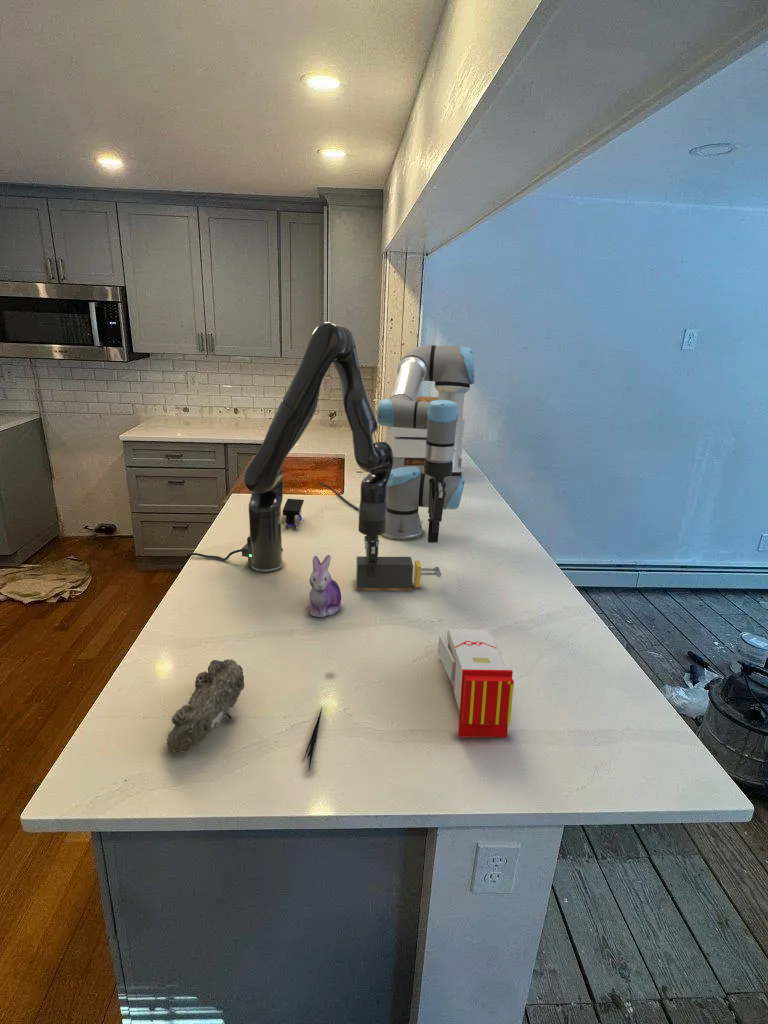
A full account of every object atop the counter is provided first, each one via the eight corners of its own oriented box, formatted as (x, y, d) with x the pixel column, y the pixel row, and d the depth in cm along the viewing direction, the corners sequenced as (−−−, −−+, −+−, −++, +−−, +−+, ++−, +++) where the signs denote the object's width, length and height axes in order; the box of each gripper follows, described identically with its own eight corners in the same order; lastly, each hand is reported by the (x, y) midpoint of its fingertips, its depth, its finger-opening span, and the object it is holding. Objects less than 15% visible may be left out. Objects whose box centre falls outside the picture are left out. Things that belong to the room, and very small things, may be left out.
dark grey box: (409, 581, 165) (410, 556, 163) (411, 590, 160) (413, 564, 157) (355, 581, 164) (356, 556, 161) (356, 590, 159) (357, 564, 156)
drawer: (437, 580, 165) (439, 560, 163) (440, 587, 161) (442, 566, 159) (367, 579, 163) (368, 560, 161) (368, 586, 159) (369, 566, 157)
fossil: (192, 660, 117) (244, 628, 112) (224, 691, 120) (276, 661, 115) (142, 746, 98) (202, 712, 93) (182, 779, 101) (242, 748, 96)
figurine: (314, 622, 141) (314, 568, 136) (300, 603, 150) (300, 551, 145) (349, 614, 146) (350, 561, 141) (333, 597, 154) (334, 546, 149)
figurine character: (300, 535, 198) (304, 515, 212) (299, 515, 195) (304, 497, 208) (280, 534, 198) (286, 515, 211) (279, 515, 195) (286, 496, 208)
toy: (488, 613, 130) (523, 677, 101) (484, 667, 133) (517, 744, 104) (435, 612, 130) (455, 676, 101) (432, 666, 133) (451, 743, 103)
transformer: (382, 463, 289) (386, 382, 275) (445, 464, 293) (451, 384, 279) (390, 482, 257) (394, 392, 243) (460, 483, 261) (468, 394, 247)
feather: (331, 679, 122) (336, 673, 122) (307, 777, 96) (313, 769, 95) (324, 675, 122) (329, 669, 121) (298, 772, 95) (304, 764, 95)
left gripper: (388, 525, 148) (385, 583, 154) (384, 506, 161) (381, 560, 167) (359, 524, 147) (358, 583, 153) (357, 506, 161) (356, 560, 166)
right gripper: (457, 466, 145) (450, 551, 153) (448, 454, 157) (441, 533, 165) (428, 466, 144) (422, 551, 152) (421, 453, 156) (416, 532, 164)
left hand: (370, 571), depth 160 cm, fingers closed on dark grey box, 5 cm apart
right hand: (432, 541), depth 158 cm, fingers closed
